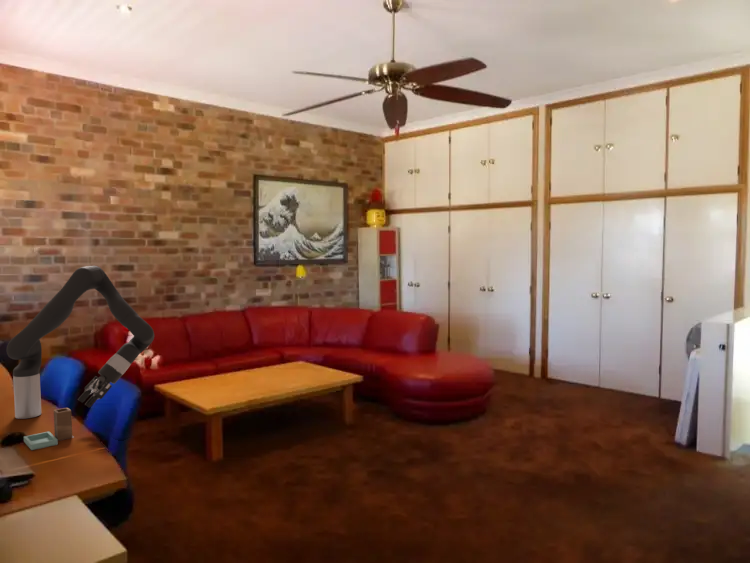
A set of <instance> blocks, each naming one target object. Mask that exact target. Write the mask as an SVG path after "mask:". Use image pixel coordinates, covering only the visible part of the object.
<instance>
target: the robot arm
mask: <svg viewBox="0 0 750 563" xmlns="http://www.w3.org/2000/svg"><path fill="white" fill-rule="evenodd" d="M89 290H96V291H97V292H98V293H99V294H100V295H101V296H103V298H104V300H105V301H106V304H107V306H108V308H109V311H110V312H111V315H112V316H113V317H114V318H115V319H116V320H117V321H118V323H120V324H121V326H123V327H124V328H125V329H127V330H128V331H129V332H130V334H132V335H133V337H132V338H130V340H129V341H128V342H127V343H124V344H123V345H122V346H120V348H119V349H118V350H117V351H116V353H114V354H113V355H112V356H111V357H110V358H109V359H108V360H107V361H106V363H105V364H104V365H103V366H102V367H101V368H100V369H99V370H98V372H97V374H99V375H100V376H99V377H98V376H96V375H95V376H94V377H93V378H92V379H91V380H90V381H89V382H88V383H87V385H86V386H84V389H83V390H84V391H83V393H82V394H81V395H80V396H79V397H78V398H77V400H78V401H79V402H80V403H84V402H85V401H86V400H87V399H88V400H87V401H86V402H85V403H84V406H86V407H88V408H91V407H92V406H93V405H94V404H95V403H96V401H97V400H102V399H103V398H104V397H105V396H106V394H107V393H108V392H109V391H110V389H111V388H112V387H113V385H115V384H116V383H117V382H118V381H119V379H120V378H121V377H122V376H123V375H124V374H125V373H126V371H128V369H129V368H130V366H131V365H132V364H133V362H135V360H136V359H137V358H138V357H139V355H140V354H142V352H144V351H145V350H146V349H147V348H149V346H150V345H151V344H152V343H153V341H154V339H155V332H154V328H152V326H151V325H150V324H149V323H148V322H147V321H146V320H144V318H142V317H141V316H139V314H138V312H137V311H136V310H135V309H134V308H133V307H132V306H131V305H130V304H129V303H128V302H127V301H126V300H125V299H124V297H123V295H121V294H120V292H119V291H118V290H117V288H116V286H115V285H114V284H113V282H112V281H111V279H110V278H109V276H108V275H107V273H106V272H105V270H104V269H102V268H101V266H98V265H87V266H81V267H79V268H77V269H76V270H75V271H74V272H73V273H71V276H70V277H69V278H68V280H66V282H65V284H64V285H63V287H61V288H60V289H59V291H58V292H57V293H56V294H55V295H54V296H53V297H52V298H51V299H50V300H49V301H48V302H47V303H46V304H45V305H44V306H43V308H41V310H40V311H39V312H38V313H37V314H36V315H35V316H34V317H33V318H32V320H30V322H29V323H28V324H27V325H26V326H25V327H24V328H23V329H22V330H21V331H19V333H17V334H16V335H15V336H14V337H12V338H11V339H10V341H9V342H8V343H7V345H6V354H7V356H8V358H10V359H12V360H16V361H18V360H19V363H18V365H16V366H15V367H14V368H13V370H12V377H13V378H12V379H13V380H12V382H13V395H14V396H13V398H14V417H15V419H17V420H18V419H19V420H20V419H21V420H22V419H31V418H36V417H38V416H40V415H42V399H41V397H42V396H41V395H42V394H41V393H42V392H41V377H40V376H41V375H40V374H41V373H40V369H41V367H42V359H43V358H42V355H43V354H42V353H43V352H42V342H41V340H40V339H42V338H43V337H45V336H46V335H48V334H50V333H52V332H53V331H55V330H56V329H57V328H59V327H60V326H61V325H62V324H63V323H64V322H65V321H66V320H67V319H68V318H69V317H70V315H71V314H72V312H73V310H74V306H75V303H76V302H77V300H78V299H79V298H80V297H81V296H82V295H83V294H84V293H86V292H88V291H89ZM112 384H113V385H112ZM90 395H91V396H90ZM89 396H90V397H89Z"/></svg>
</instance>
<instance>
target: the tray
mask: <svg viewBox="0 0 750 563" xmlns="http://www.w3.org/2000/svg"><path fill="white" fill-rule="evenodd" d="M23 443H25V445H26V446H27V447H28V449H29V450H30V451H36V450H39V449H44V448H48V447H54V446H58V443H59V441H58V439H56V438H55V435H53V433H51V432H50V431H49V430H48V431H44V432H40V433H33V434H29V435H24V436H23Z"/></svg>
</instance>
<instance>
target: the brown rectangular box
mask: <svg viewBox="0 0 750 563" xmlns="http://www.w3.org/2000/svg"><path fill="white" fill-rule="evenodd" d="M72 418H73V417H72V410H71V409H70V408H69V407H63V408H57V409H53V420H54V421H53V424H54V426H53V427H54V429H53V430H54V437H55V438H56V439H58V440H60V441H63V440H62V439H65V440H68V439H67V438H69V439H72V438H71V437H72V436H73V422H72Z"/></svg>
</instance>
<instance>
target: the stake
mask: <svg viewBox="0 0 750 563" xmlns="http://www.w3.org/2000/svg"><path fill="white" fill-rule="evenodd" d="M73 438H74V439H75V436H74V435H72V437H71V438H67V439H62V440H58V442H60V441H65V440H69V439H73Z"/></svg>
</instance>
